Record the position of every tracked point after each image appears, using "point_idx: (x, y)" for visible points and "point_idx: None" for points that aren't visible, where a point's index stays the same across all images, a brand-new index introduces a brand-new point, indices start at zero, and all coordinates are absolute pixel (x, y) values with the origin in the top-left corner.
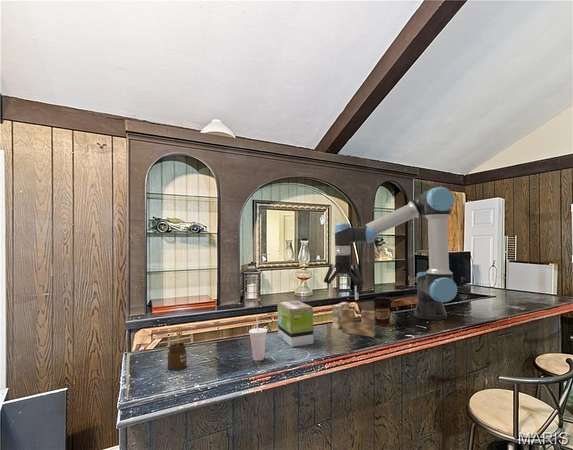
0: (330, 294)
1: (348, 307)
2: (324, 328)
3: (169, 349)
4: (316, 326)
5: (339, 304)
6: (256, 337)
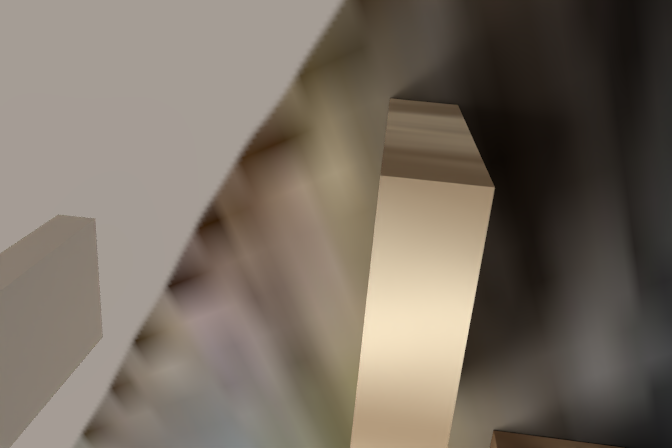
0: (70, 367)
1: (480, 159)
2: (280, 411)
3: None
4: (177, 374)
5: (389, 442)
6: None
